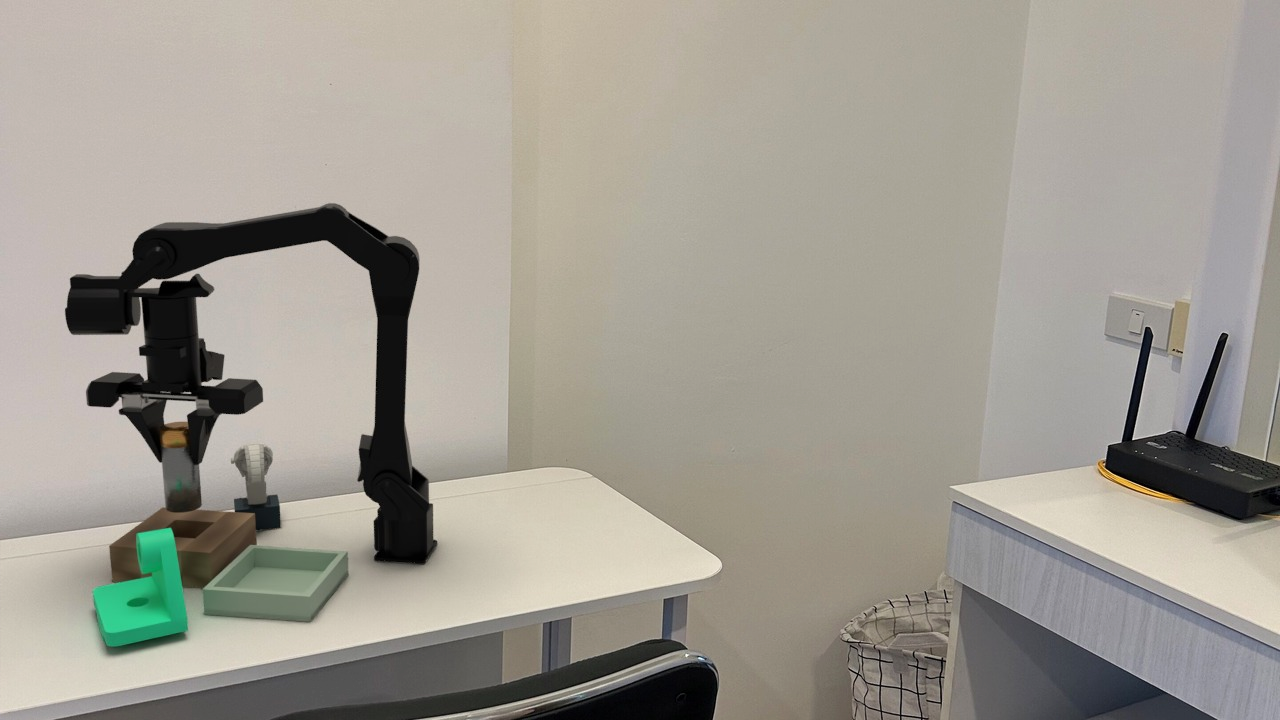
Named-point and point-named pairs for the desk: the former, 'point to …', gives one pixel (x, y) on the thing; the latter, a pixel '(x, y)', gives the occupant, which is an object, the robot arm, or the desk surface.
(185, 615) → the camera mount
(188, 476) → the steel pin
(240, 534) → the hole block
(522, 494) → the desk surface
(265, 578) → the tray
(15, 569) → the desk surface
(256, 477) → the watch
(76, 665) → the desk surface
